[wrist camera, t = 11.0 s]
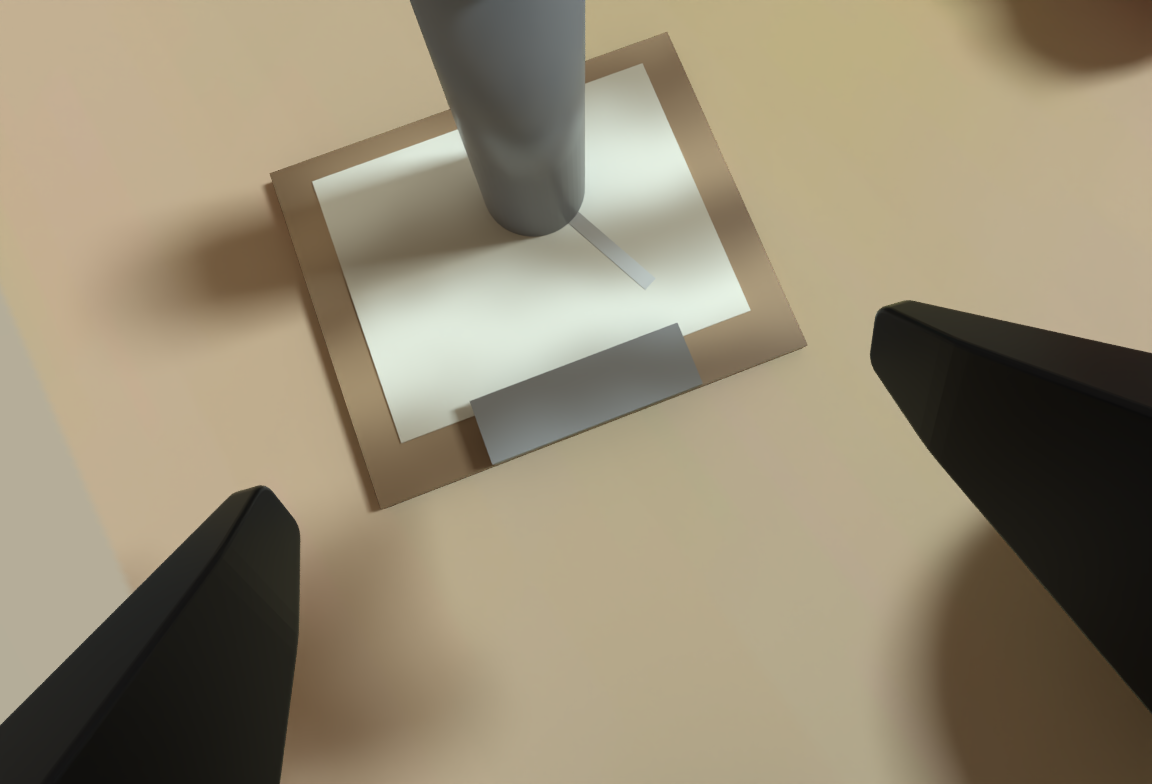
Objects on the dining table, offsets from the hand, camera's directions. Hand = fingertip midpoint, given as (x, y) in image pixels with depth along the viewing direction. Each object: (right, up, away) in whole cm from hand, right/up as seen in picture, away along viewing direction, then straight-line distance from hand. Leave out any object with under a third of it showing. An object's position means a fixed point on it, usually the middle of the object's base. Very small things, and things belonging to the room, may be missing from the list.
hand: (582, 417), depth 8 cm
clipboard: (-2, +6, +14) cm, 16 cm away
